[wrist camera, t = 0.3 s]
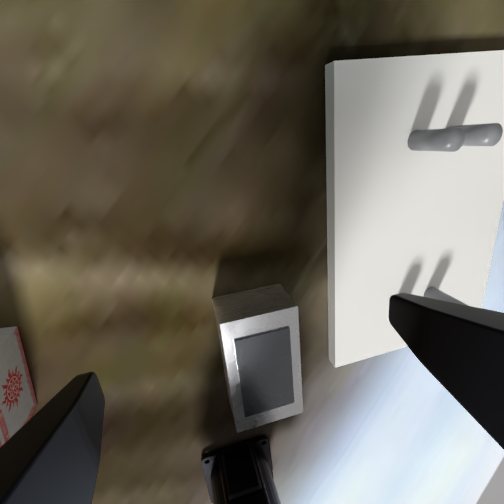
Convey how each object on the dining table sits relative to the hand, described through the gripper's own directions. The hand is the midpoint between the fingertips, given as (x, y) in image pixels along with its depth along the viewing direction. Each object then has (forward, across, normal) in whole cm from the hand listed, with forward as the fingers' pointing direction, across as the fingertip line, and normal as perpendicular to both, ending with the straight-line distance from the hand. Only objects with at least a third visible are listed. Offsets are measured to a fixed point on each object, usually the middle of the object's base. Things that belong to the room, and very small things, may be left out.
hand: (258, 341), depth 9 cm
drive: (+14, -2, +10) cm, 18 cm away
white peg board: (+14, -17, +2) cm, 22 cm away
